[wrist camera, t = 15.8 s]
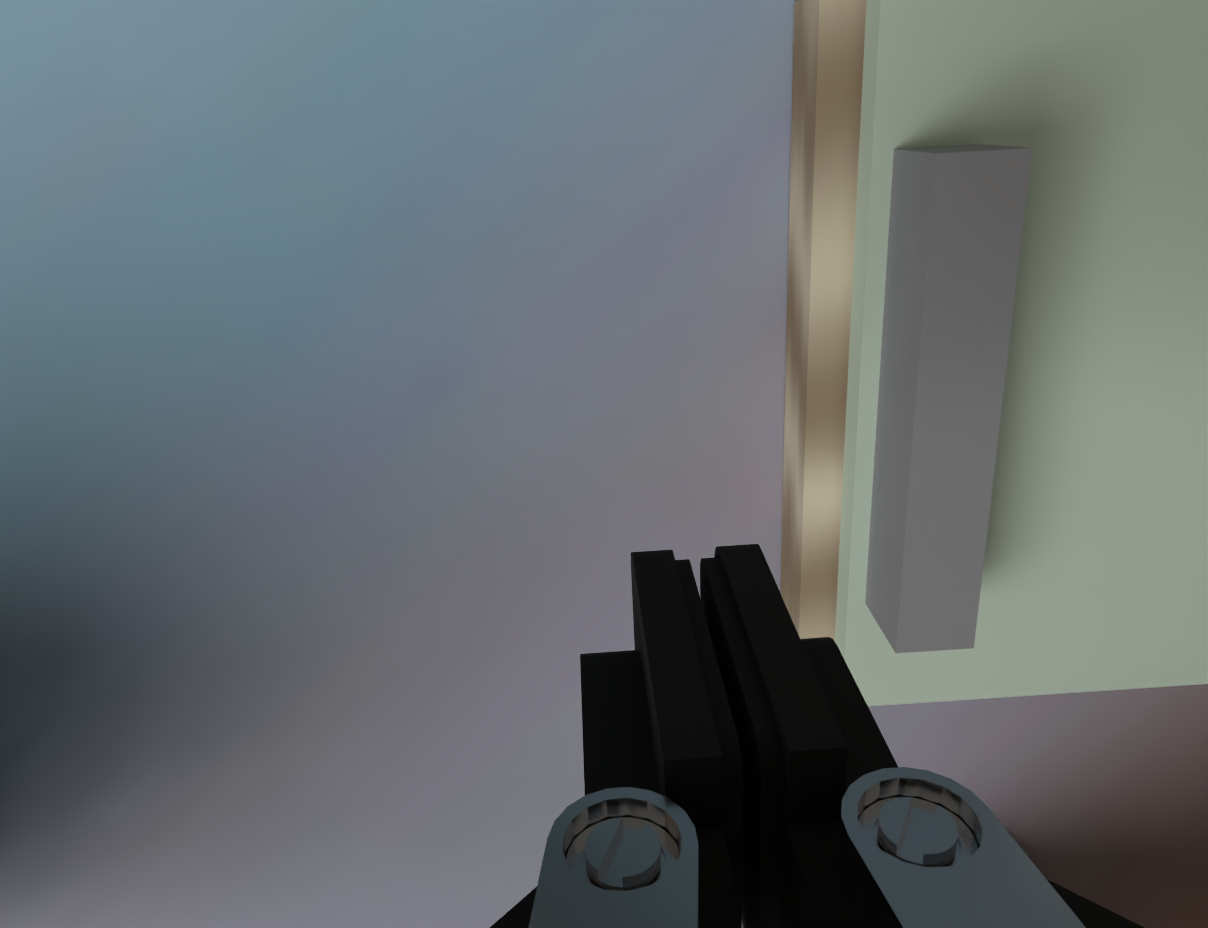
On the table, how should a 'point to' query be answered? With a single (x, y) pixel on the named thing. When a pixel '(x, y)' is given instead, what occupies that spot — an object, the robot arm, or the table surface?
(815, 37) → the well frame
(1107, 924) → the robot arm
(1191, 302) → the sliding lid
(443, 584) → the table surface
